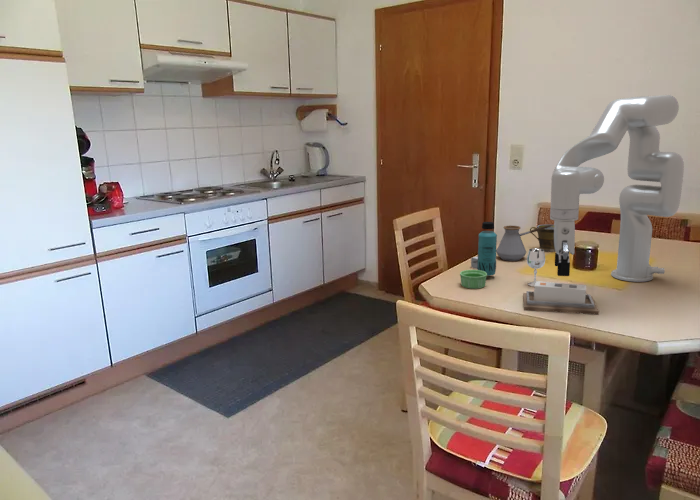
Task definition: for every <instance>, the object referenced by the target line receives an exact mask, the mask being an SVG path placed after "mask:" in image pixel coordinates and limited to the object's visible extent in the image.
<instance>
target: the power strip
mask: <svg viewBox="0 0 700 500" xmlns="http://www.w3.org/2000/svg"><path fill="white" fill-rule="evenodd" d="M533 287H534V289H533V290H534V291H533V292H534V301H548V302H565V303H583V304H585V296H586V294H587V285H586V284H575V283H565V282H564V283H563V282H553V281H551V282H550V281H540V280H539V281H538V280H536V283H535V286H533Z"/></svg>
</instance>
